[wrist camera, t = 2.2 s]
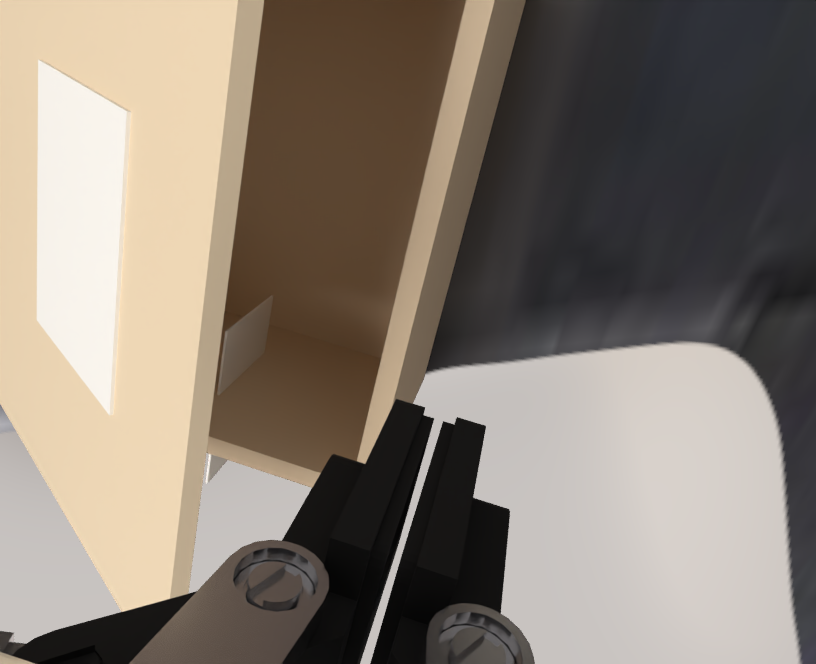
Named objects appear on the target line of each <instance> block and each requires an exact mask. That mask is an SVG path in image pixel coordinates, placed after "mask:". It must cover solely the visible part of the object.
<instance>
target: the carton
mask: <svg viewBox="0 0 816 664" xmlns="http://www.w3.org/2000/svg"><path fill="white" fill-rule="evenodd" d="M525 2H526V0H264V6H263V14H262V21H261V29H260V37H259V45H258V53H257V60H256V68H255V76H254V84H253V92H252V100H251V107H250V115H249V123H248V131H247V139H246V146H245V154H244V162H243V170H242V178H241V186H240V193H239V201H238V209H237V217H236V225H235V233H234V240H233V248H232V256H231V264H230V272H229V279H228V287H227V295H226V303H225V311H224V319H223V326H222V334H221V342H220V350H219V358H218V366H217V373H216V381H215V389H214V397H213V405H212V412H211V420H210V428H209V436H208V444H207V452H206V453H209V460H208V468H207V476H206V483H208V482H209V481H210V480H211V479H212V478H213V476H214V475H215V474H216V473H217V472H218V470H219V469H220V468H221V467H222V466H223V465H224V464H225V462H226V461H227V460H230V461H233V462H236V463H239V464H242V465H245V466H248V467H251V468H254V469H257V470H260V471H263V472H266V473H269V474H272V475H275V476H278V477H281V478H285V479H287V480H290V481H293V482H297V483H299V484H302V485H305V486H308V487H311V488H313V486H314V484H315V482H316V481H317V479H318V477H319V475H320V474H321V472H322V470H323V468H324V467H325V465H326V463H327V461H328V460H329V458H330V457H331V455H333V454H336V455H339V456H342V457H345V458H348V459H351V460H355V461H358V462H361V463H364V464H365V463H366V461H367V459H368V457H369V455H370V453H371V451H372V448H373V446H374V444H375V442H376V440H377V438H378V436H379V434H380V432H381V429H382V427H383V425H384V423H385V421H386V419H387V417H388V415H389V413H390V410H391V408H392V406H393V404H394V402H395V400H396V399H399V400H402V401H405V402H409V403H412V404H413V402H414V400H415V397H416V395H417V393H418V391H419V388H420V386H421V384H422V382H423V380H424V376H425V373H426V369H427V365H428V362H429V358H430V354H431V351H432V347H433V343H434V339H435V336H436V332H437V328H438V325H439V321H440V317H441V313H442V310H443V306H444V302H445V299H446V295H447V291H448V287H449V284H450V280H451V276H452V273H453V269H454V265H455V261H456V258H457V254H458V250H459V247H460V243H461V239H462V235H463V232H464V228H465V224H466V221H467V217H468V213H469V209H470V206H471V202H472V198H473V195H474V191H475V187H476V184H477V180H478V176H479V172H480V169H481V165H482V161H483V158H484V154H485V150H486V146H487V143H488V139H489V135H490V132H491V128H492V124H493V120H494V117H495V113H496V109H497V106H498V102H499V98H500V94H501V91H502V87H503V83H504V80H505V76H506V72H507V68H508V65H509V61H510V57H511V54H512V50H513V46H514V42H515V39H516V35H517V31H518V28H519V24H520V20H521V16H522V13H523V9H524V5H525Z"/></svg>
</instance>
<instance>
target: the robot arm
mask: <svg viewBox="0 0 816 664" xmlns="http://www.w3.org/2000/svg"><path fill="white" fill-rule="evenodd" d="M424 410H425V407H422V406H418V405H415V404H412V403H409V402H405V401H402V400H399V399H396V400H395V402H394V404H393V406H392V408H391V410H390V413H389V415H388V417H387V419H386V421H385V423H384V425H383V427H382V429H381V432H380V434H379V436H378V438H377V440H376V442H375V444H374V446H373V448H372V451H371V453H370V455H369V457H368V459H367V461H366V463H365V464H364V463H361V462H358V461H355V460H351V459H348V458H345V457H342V456H339V455H336V454H333V455H331V457H330V458H329V460H328V461H327V463H326V465H325V467H324V468H323V470H322V472H321V474H320V475H319V477H318V479H317V481H316V482H315V484H314V486H313V488H312V489H311V491H310V493H309V495H308V496H307V498H306V500H305V502H304V504H303V505H302V507H301V508H300V510H299V512H298V514H297V516H296V517H295V519H294V521H293V522H292V524H291V526H290V528H289V530H288V531H287V533H286V535H285V537H284V538H283V540H282V541H278V540H267V541H259V542H254V543H252V544H249V545H247V546H244V547H242V548H240V549H239V550H238V551H236V552H235V553H234V554H232V555H231V556H230V557H229V558H228V559H227V560H226V561H225V562H224V563H223V564H222V565H221V567H220V568H219V569H218V570H217V571H216V572H215V573H214V574H213V575H212V576H211V577H210V578H209V579H208V581H206V582H205V583H204V585H203V586H202V587H201V588H200V589H199V590H198V591H196V592H193V593H190V594H185V595H182V596H178V597H175V598H171V599H167V600H164V601H160V602H156V603H153V604H149V605H146V606H142V607H138V608H135V609H131V610H127V611H124V612H120V613H116V614H113V615H109V616H106V617H102V618H98V619H95V620H91V621H87V622H84V623H80V624H77V625H73V626H69V627H66V628H62V629H58V630H55V631H52V632H50V633H47V634H44V635H42V636H39V637H37V638H34V639H33V640H31V641H30V642H28V643H27V644H23V643H15V642H14V633H11V632H4V631H0V664H360V661H361V658H362V655H363V652H364V649H365V646H366V643H367V640H368V637H369V633H370V631H371V628H372V625H373V621H374V618H375V615H376V612H377V609H378V606H379V603H380V600H381V596H382V594H383V590H384V587H385V584H386V581H387V578H388V575H389V572H390V569H391V566H392V563H393V559H394V556H395V553H396V550H397V547H398V544H399V540H400V537H401V533H402V529H403V526H404V523H405V519H406V516H407V512H408V509H409V505H410V502H411V498H412V494H413V491H414V487H415V484H416V481H417V477H418V473H419V470H420V466H421V463H422V459H423V456H424V452H425V449H426V445H427V442H428V438H429V435H430V431H431V428H432V424H433V420H434V418H430V417H427V416H424V415H423V414H424ZM485 429H486V426H484V425H481V424H477V423H474V422H471V421H468V420H464V419H461V418H458V417H457V419H456V422H455V425H453V424H450V423H447V422H443V424H442V427H441V430H440V434H439V437H438V440H437V443H436V447H435V450H434V453H433V456H432V459H431V463H430V466H429V469H428V472H427V476H426V479H425V482H424V486H423V489H422V492H421V496H420V499H419V502H418V505H417V508H416V511H415V515H414V518H413V521H412V525H411V527H410V531H409V534H408V537H407V541H406V544H405V547H404V550H403V554H402V557H401V560H400V564H399V567H398V570H397V574H396V577H395V581H394V584H393V587H392V591H391V595H390V598H389V601H388V605H387V609H386V612H385V615H384V619H383V623H382V626H381V629H380V633H379V636H378V639H377V643H376V647H375V650H374V653H373V657H372V660H371V663H370V664H535V662H534V657H533V654H532V650H531V648H530V644H529V642H528V641H527V639H526V638H525V636H524V635H523V633H522V632H521V630H520V629H519V628H518V627H517V626H516V625H515V624H513V623H512V622H511V621H510V620H509V619H508V618H507V617H505V616H503V615H502V614H501V603H502V592H503V582H504V571H505V560H506V549H507V538H508V528H509V517H510V511H509V509H507V508H503V507H500V506H497V505H493V504H491V503H487V502H484V501H481V500H478V499H475V498H473V494H474V489H475V483H476V478H477V472H478V467H479V461H480V455H481V451H482V445H483V440H484V434H485Z"/></svg>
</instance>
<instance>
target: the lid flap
mask: <svg viewBox="0 0 816 664" xmlns="http://www.w3.org/2000/svg"><path fill="white" fill-rule="evenodd" d="M263 6H264V0H0V404H1V406H2V407H3V409H4V411H5V413H6V414H7V416H8V418H9V419H10V421H11V423H12V425H13V426H14V428H15V430H16V431H17V433H18V435H19V436H20V438H21V440H22V442H23V443H24V445H25V447H26V449H27V450H28V452H29V454H30V455H31V457H32V459H33V460H34V462H35V464H36V466H37V467H38V469H39V471H40V472H41V474H42V476H43V478H44V479H45V481H46V483H47V485H48V486H49V488H50V490H51V491H52V493H53V495H54V497H55V498H56V500H57V502H58V503H59V505H60V507H61V509H62V510H63V512H64V514H65V515H66V517H67V519H68V521H69V522H70V524H71V526H72V528H73V529H74V531H75V533H76V534H77V536H78V538H79V539H80V541H81V543H82V545H83V546H84V548H85V550H86V552H87V553H88V555H89V557H90V558H91V560H92V562H93V564H94V565H95V567H96V569H97V570H98V572H99V574H100V576H101V577H102V579H103V581H104V582H105V584H106V586H107V588H108V589H109V591H110V592H111V594H112V596H113V598H114V600H115V601H116V603H117V605H118V606H119V608H120V610H121V612H124V611H127V610H131V609H135V608H138V607H142V606H146V605H149V604H153V603H156V602H160V601H164V600H167V599H171V598H175V597H178V596H182V595H185V594H188V592H189V583H190V577H191V568H192V561H193V553H194V545H195V538H196V530H197V522H198V514H199V506H200V499H201V491H202V483H203V475H204V467H205V459H206V452H207V444H208V436H209V428H210V420H211V412H212V405H213V397H214V389H215V381H216V373H217V366H218V358H219V350H220V342H221V334H222V326H223V319H224V311H225V303H226V295H227V287H228V279H229V272H230V264H231V256H232V248H233V240H234V233H235V225H236V217H237V209H238V201H239V193H240V186H241V178H242V170H243V162H244V154H245V146H246V139H247V131H248V123H249V115H250V107H251V100H252V92H253V84H254V76H255V68H256V60H257V53H258V45H259V37H260V29H261V21H262V14H263Z"/></svg>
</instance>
